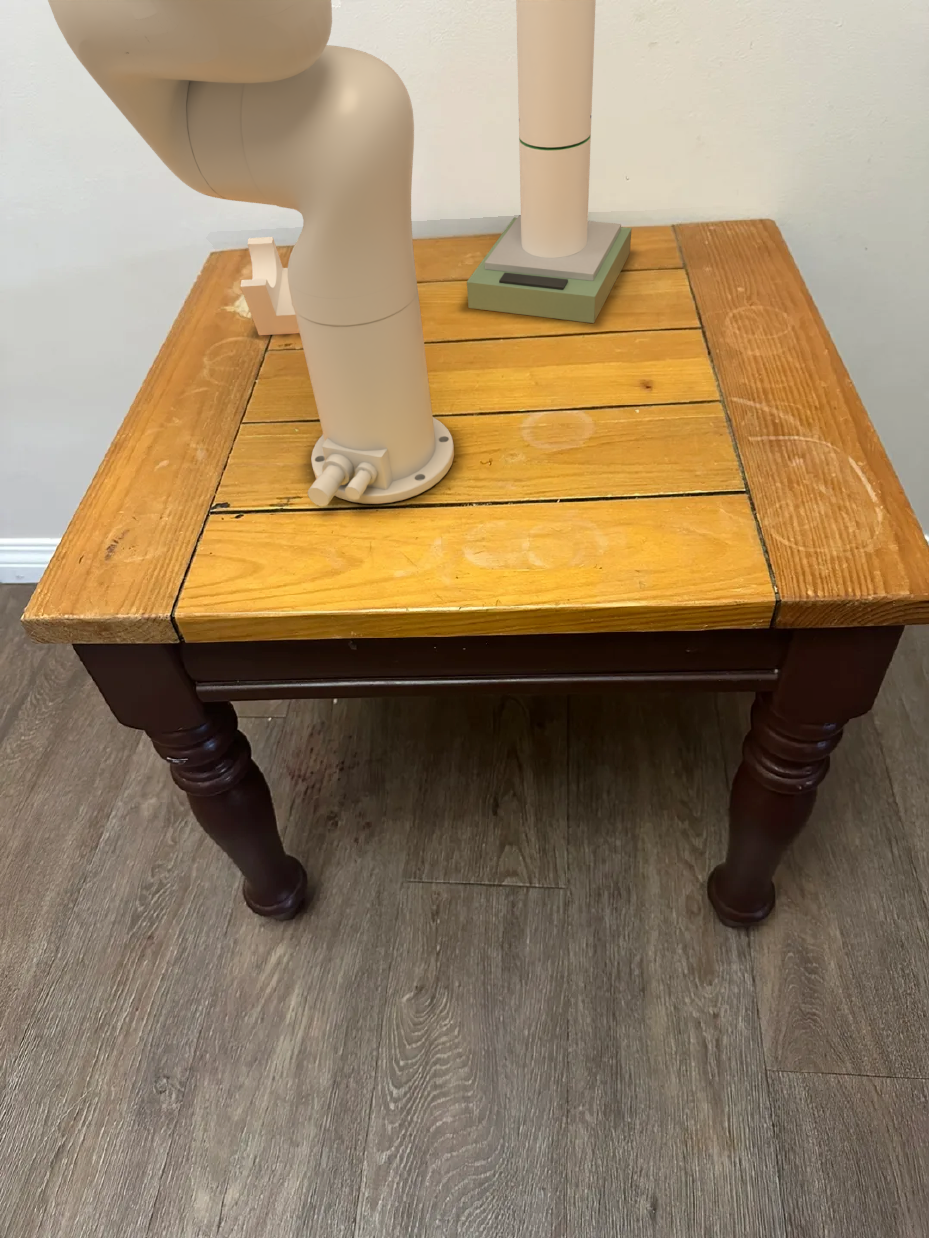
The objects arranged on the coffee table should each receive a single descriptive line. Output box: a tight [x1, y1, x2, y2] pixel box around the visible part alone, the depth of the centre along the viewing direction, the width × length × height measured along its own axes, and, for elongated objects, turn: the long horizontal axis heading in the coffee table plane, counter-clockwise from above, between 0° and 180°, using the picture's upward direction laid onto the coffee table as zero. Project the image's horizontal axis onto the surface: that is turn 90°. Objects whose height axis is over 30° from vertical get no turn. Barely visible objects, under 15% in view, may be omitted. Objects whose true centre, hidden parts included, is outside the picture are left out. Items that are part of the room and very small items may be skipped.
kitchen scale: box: [466, 214, 633, 324], centre depth 95 cm, size 16×14×4 cm
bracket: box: [240, 236, 300, 336], centre depth 92 cm, size 13×7×8 cm, turn 89°
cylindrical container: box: [515, 0, 596, 258], centre depth 85 cm, size 7×7×25 cm
